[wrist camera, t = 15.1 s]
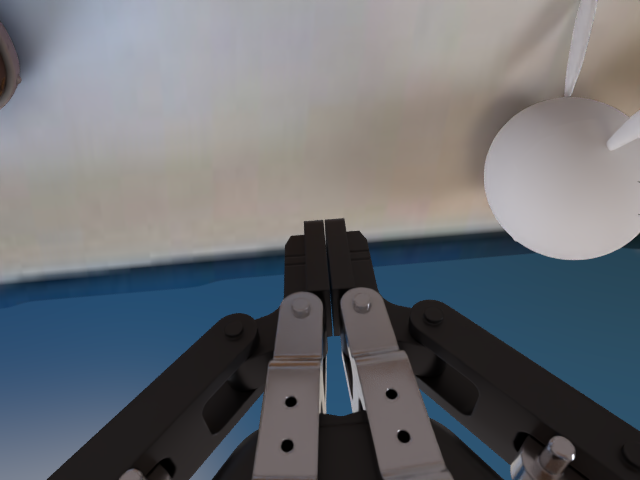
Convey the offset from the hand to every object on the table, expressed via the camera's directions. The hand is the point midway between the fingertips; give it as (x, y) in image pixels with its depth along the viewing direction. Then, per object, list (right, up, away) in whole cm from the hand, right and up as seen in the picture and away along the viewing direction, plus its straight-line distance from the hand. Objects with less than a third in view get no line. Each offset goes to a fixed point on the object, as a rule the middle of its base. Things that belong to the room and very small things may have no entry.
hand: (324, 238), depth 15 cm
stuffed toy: (+23, +14, +28) cm, 39 cm away
